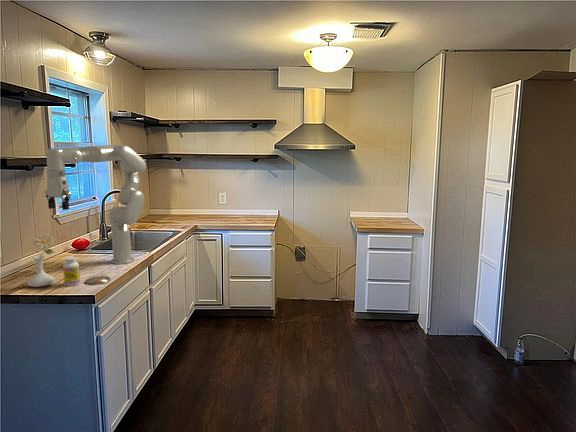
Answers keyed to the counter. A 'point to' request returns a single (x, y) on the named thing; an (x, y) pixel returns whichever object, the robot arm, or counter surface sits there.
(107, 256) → the counter surface
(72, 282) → the supplement bottle
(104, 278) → the round coaster
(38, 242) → the flower in vase
